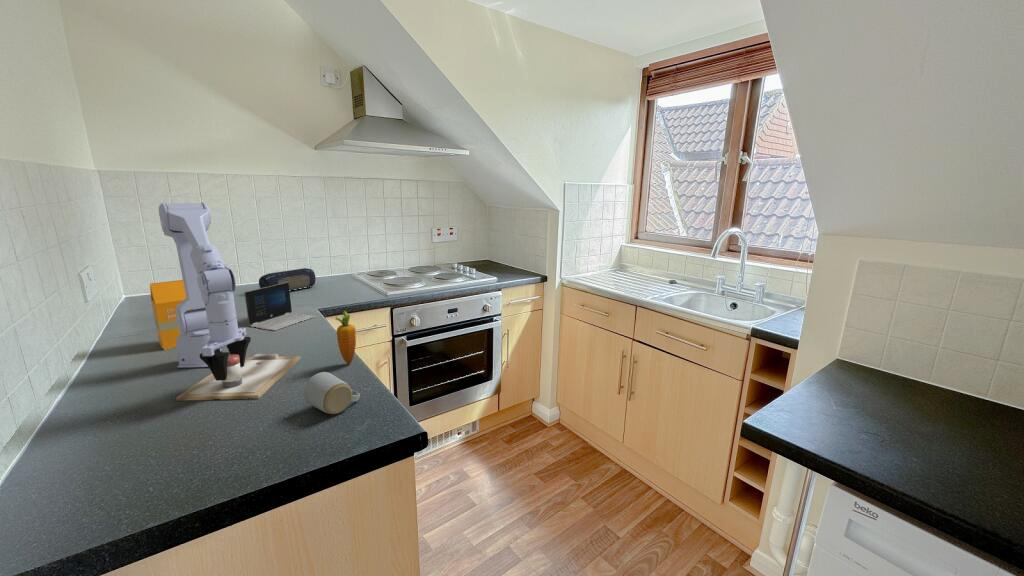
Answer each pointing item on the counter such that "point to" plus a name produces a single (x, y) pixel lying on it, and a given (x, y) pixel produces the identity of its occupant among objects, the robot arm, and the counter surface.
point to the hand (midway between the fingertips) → (230, 373)
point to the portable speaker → (289, 278)
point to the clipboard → (244, 379)
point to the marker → (233, 372)
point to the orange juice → (167, 310)
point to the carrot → (346, 338)
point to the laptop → (271, 307)
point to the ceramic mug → (329, 393)
